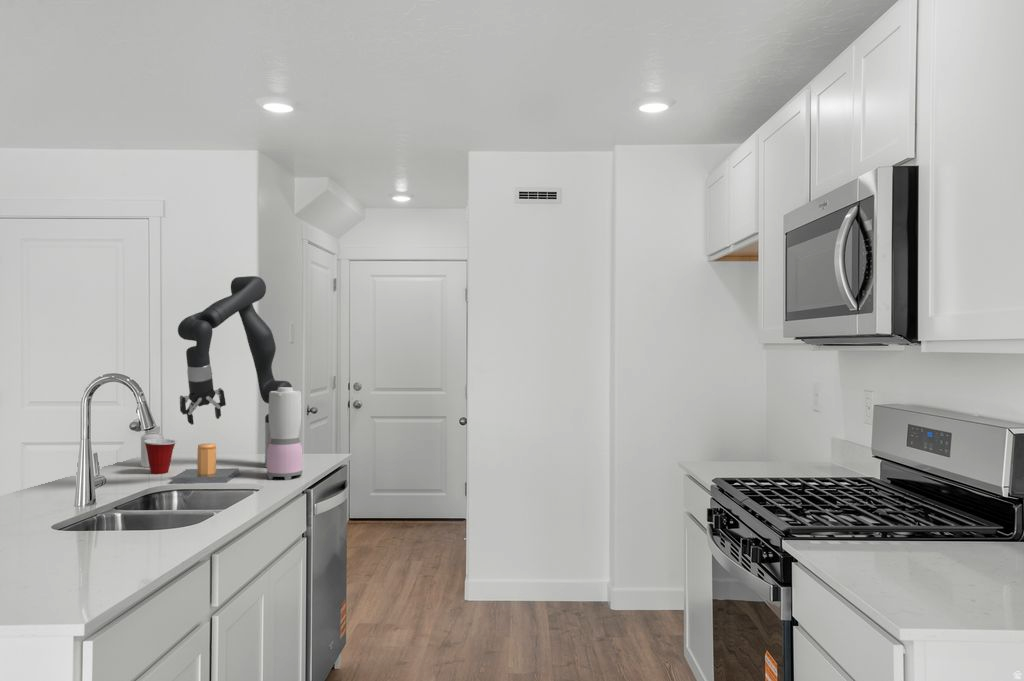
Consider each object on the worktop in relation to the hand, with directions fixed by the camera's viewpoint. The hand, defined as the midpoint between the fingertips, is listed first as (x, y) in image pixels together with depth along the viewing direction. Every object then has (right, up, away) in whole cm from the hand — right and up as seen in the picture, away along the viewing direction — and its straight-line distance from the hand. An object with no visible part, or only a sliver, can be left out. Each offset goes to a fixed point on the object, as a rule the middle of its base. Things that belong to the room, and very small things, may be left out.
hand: (204, 420), depth 246 cm
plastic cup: (-24, -21, +17) cm, 36 cm away
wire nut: (-2, -19, +6) cm, 20 cm away
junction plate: (-2, -21, +6) cm, 22 cm away
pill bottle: (-33, -21, +31) cm, 50 cm away
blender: (+24, -21, +12) cm, 35 cm away
